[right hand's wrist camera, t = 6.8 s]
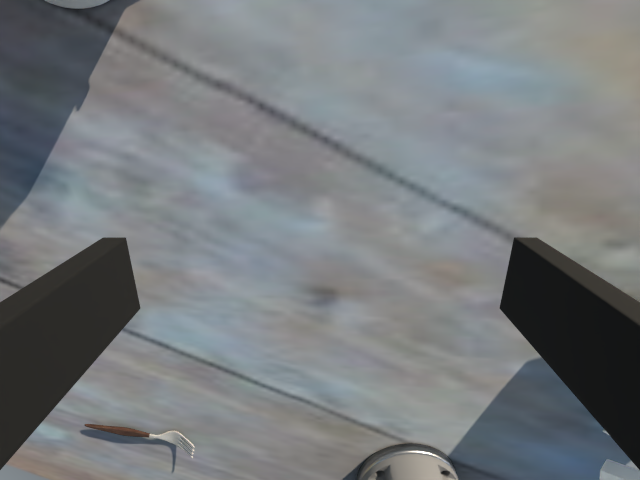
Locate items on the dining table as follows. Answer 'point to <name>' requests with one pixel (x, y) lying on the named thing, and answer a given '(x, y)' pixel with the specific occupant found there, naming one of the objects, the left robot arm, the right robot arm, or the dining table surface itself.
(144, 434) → the fork
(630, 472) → the white plastic object
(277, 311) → the dining table surface
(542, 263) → the right robot arm
